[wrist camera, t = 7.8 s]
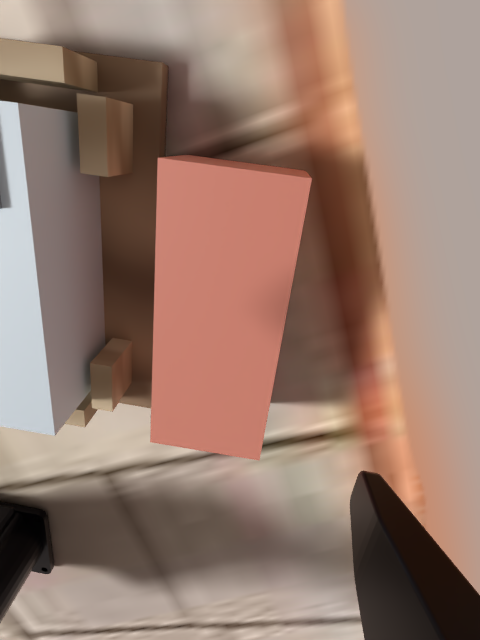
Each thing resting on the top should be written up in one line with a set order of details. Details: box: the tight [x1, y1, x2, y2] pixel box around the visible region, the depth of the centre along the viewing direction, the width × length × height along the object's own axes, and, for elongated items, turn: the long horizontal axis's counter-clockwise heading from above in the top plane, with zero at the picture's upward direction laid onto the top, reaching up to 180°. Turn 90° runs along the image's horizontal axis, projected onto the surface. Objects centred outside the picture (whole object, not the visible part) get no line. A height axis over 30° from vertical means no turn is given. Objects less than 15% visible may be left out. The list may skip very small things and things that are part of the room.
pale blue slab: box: [0, 101, 105, 436], centre depth 15 cm, size 12×5×5 cm, turn 173°
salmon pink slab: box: [150, 155, 312, 460], centre depth 17 cm, size 12×5×4 cm, turn 173°
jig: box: [0, 38, 168, 427], centre depth 17 cm, size 16×10×3 cm, turn 173°
